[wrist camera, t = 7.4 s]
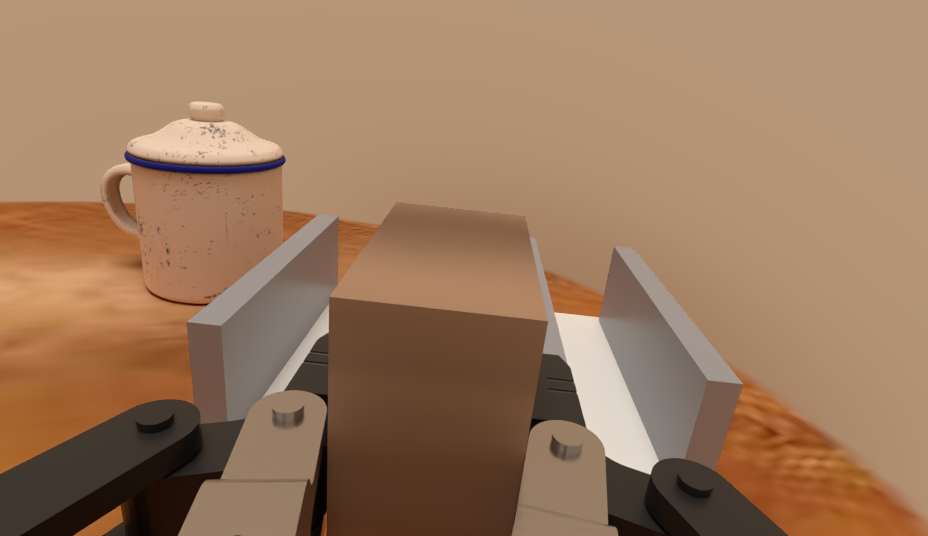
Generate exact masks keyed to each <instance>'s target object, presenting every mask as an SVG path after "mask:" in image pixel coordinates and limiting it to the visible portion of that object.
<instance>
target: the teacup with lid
mask: <svg viewBox="0 0 928 536" xmlns="http://www.w3.org/2000/svg"><path fill="white" fill-rule="evenodd" d="M188 112H189V116H190V117H191V118H190V119H181V120H177V121H174V122H172V123H170V124H168V125H167V126H165V127H164V128H162V129H161V130H159V131H157V132H155V133H152V134H149V135H145V136H141V137H137V138H135V139H133V140H131V141H130V142H129V144H128V145H127V148H126V149H127V151H126V153H125V159H126V160H127V161H128V162H130V163H127V164H120V165H117V166H114V167H112V168H111V169H109V170H108V171H107V172H106V173H105V174H104V176H103V178H102V180H101V186H100V188H101V189H100V190H101V197H102V201H103V204H104V206H105V209H106V211H107V213H108V214H109V216H110V217H111V219H112V220H113V222H114V223H115V224H116V225H117V226H118V227H119V228H120V229H121V230H123V231H124V232H125V233H127V234H129V235H131V236H133V237H136V238H139V241H140V250H141V259H142V267H143V276H144V282H145V285H146V286H147V288H148V289H149V290H150V291H151V292H152V293H154V294H156V295H158V296H160V297H162V298H165V299H168V300H172V301H177V302H184V303H195V304H209V303H211V302H212V301H213V300H214V299H216V298H217V297H218V296H219V295H221V294H222V293H223V292H224V291H225V290H227V289H228V288H229V287H230V286H232V285H233V284H234V283H235V282H236V281H238V280H239V279H240V278H241V277H243V276H244V275H245V274H246V273H248V272H249V271H250V270H251V269H252V268H254V267H255V266H256V265H257V264H259V263H260V262H261V261H262V260H263V259H265V258H266V257H267V256H268V255H270V254H271V253H272V252H273V251H275V250H276V249H277V248H278V247H279V246H281V245H282V244H283V210H282V165H283V164H284V163H285V157H284V156H283V151H282V149H281V148H280V147H279V146H278V145H277V144H275V143H273V142H270V141H267V140H264V139H261V138H259V137H257V136H255V135H254V134H252V133H251V132H249V131H248V130H247V129H245V128H244V127H242V126H240V125H239V124H236V123H234V122H229V121H225V120H223V118H224V108H223V107H222V106H221V105H220V104H218V103H211V102H192V103H190V104H189V106H188ZM125 175H131V176H132V182H133V190H134V199H135V207H136V216H137V221H136V220H135V219H134V218H133V217H132V216H131V215H130V214H129V212H128V211H127V209H126V208H125V206H124V204H123V202H122V199H121V196H120V190H119V185H120V181H121V179H122V178H123V177H124V176H125Z"/></svg>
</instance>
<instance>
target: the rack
mask: <svg viewBox="0 0 928 536" xmlns="http://www.w3.org/2000/svg"><path fill="white" fill-rule="evenodd" d="M338 225H339V216H331V215H322V214H319V215H318V216H316V217H315V218H314V219H313V220H311V221H310V222H309V223H308V224H306V225H305V226H304V227H303V228H302V229H300V230H299V231H298V232H297V233H295V234H294V235H293V236H292V237H290V238H289V239H288V240H287V241H286V242H284V243H283V244H282V245H281V246H279V247H278V248H277V249H276V250H275V251H273V252H272V253H271V254H270V255H268V256H267V257H266V258H265V259H263V260H262V261H261V262H260V263H259V264H257V265H256V266H255V267H254V268H252V269H251V270H250V271H249V272H248V273H246V274H245V275H244V276H243V277H241V278H240V279H239V280H238V281H236V282H235V283H234V284H233V285H232V286H230V287H229V288H228V289H227V290H225V291H224V292H223V293H222V294H221V295H219V296H218V297H217V298H216V299H214V300H213V301H212V302H211V303H209V304H208V305H207V306H206V307H205V308H203V309H202V310H201V311H200V312H198V313H197V314H196V315H195V316H194V317H192V318H191V319H190V320H189V321H187V329H188V340H189V351H190V362H191V373H192V384H193V395H194V405H195V406H196V407H197V408H198V409H199V411H200V417H201V424H205V423H215V422H226V421H235V420H241V419H245V418H246V417H247V415H248V412H249V410H250V408H251V407H252V406H253V405H254V404H255V403H256V402H257V401H258V400H260V399H262V398H263V397H265V396H268V395H270V394H273V393H276V392H281V391H284V390H285V388H286V387H287V385H288V384H289V382H290V381H291V379H292V378H293V376H294V375H295V373H296V372H297V370H298V368H299V367H300V365H301V364H302V363H304V359H305V358H306V356H307V355H308V353H310V350H311V349H312V347H313V346H314V344H315V343H316V341H317V339H319V338H320V337H322V336H323V335H325V334H327V333H328V332H329V296H330V295H331V293H332V292H333V291H334V289H335V288H336V286H337V283H338ZM530 241H531V246H532V250H533V255H534V259H535V264H536V268H537V273H538V277H539V282H540V286H541V291H542V295H543V300H544V304H545V309H546V313H547V318H548V326H547V331H546V337H545V343H544V349H543V353H544V354H553V355H559V356H560V357H561V358H562V359H563V360H564V361H565V362H566V363H567V364H568V365H569V366H570V368H571V371H572V375H573V379H574V383H575V386H576V390H577V394H578V398H579V401H580V405H581V409H582V413H583V416H584V420H585V424H586V428H587V429H588V430H590V431H591V432H593V433H594V434H595V435H596V436H597V437H598V438H599V439H600V440H601V442H602V443H603V446H604V449H605V456H607V457H608V458H610V459H611V460H613V461H615V462H617V463H619V464H622V465H624V466H627V467H630V468H632V469H635V470H638V471H641V472H644V473H647V474H650V475H651V471H652V468H653V466H654V465H655V464H656V463H657V462H659V461H661V460H664V459H668V458H681V459H687V460H691V461H694V462H697V463H700V464H702V465H704V466H706V467H708V468H710V469H712V470H713V471H715V469H716V466H717V463H718V460H719V457H720V454H721V451H722V448H723V445H724V442H725V439H726V436H727V433H728V430H729V426H730V423H731V420H732V417H733V414H734V411H735V408H736V405H737V402H738V399H739V396H740V393H741V390H742V387H743V383H742V382H741V381H740V380H739V378H738V377H737V376H736V375H735V373H734V372H733V371H732V370H731V368H730V367H729V366H728V365H727V364H726V362H725V361H724V360H723V359H722V357H721V356H720V355H719V354H718V352H717V351H716V350H715V349H714V347H713V346H712V345H711V344H710V343H709V341H708V340H707V339H706V338H705V336H704V335H703V334H702V332H701V331H700V330H699V329H698V328H697V326H696V325H695V324H694V323H693V321H692V320H691V319H690V318H689V316H688V315H687V314H686V313H685V311H684V310H683V309H682V308H681V306H679V304H678V303H677V301H676V300H675V299H674V298H673V297H672V295H671V294H670V293H669V292H668V290H667V289H666V288H665V287H664V286H663V284H662V283H661V282H660V280H659V279H658V278H657V277H656V276H655V274H654V273H653V272H652V270H651V269H650V268H649V267H648V266H647V264H646V263H645V262H644V260H643V259H642V258H641V257H640V256H639V254H638V253H637V252H636V251H635V249H634V248H625V247H616V246H614V250H613V254H612V259H611V264H610V268H609V273H608V278H607V283H606V288H605V293H604V297H603V302H602V307H601V312H600V317H590V316H581V315H572V314H563V313H554V309H553V306H552V302H551V298H550V294H549V290H548V286H547V282H546V278H545V275H544V271H543V267H542V263H541V259H540V255H539V251H538V248H537V244H536V240H535V238H532V237H530Z"/></svg>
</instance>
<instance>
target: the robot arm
mask: <svg viewBox="0 0 928 536" xmlns="http://www.w3.org/2000/svg"><path fill="white" fill-rule="evenodd" d="M328 351H329V332H328V333H327V334H325V335H323V336H322V337H320V338H319V339H317V341H316V343H315V344H314V346H313V347H312V349H311V350H310V353H308V355H307V356H306V358H305V359H304V363H302V364H301V365H300V367H299V368H298V370H297V372H296V373H295V375H294V376H293V378H292V379H291V381H290V382H289V384H288V385H287V387H286V388H285V390H284V391H281V392H276V393H273V394H270V395H268V396H265V397H263V398H262V399H260V400H258V401H257V402H256V403H255V404H254V405H253V406H252V407H251V408H250V410H249V412H248V415H247V417H246V418H245V419H241V420H235V421H226V422H215V423H205V424H201V417H200V411H199V409H198V408H197V407H196V406H195V405H193V404H191V403H189V402H186V401H182V400H158V401H152V402H148V403H144V404H141V405H138V406H136V407H134V408H131V409H129V410H127V411H125V412H123V413H121V414H119V415H117V416H115V417H113V418H111V419H109V420H107V421H105V422H103V423H101V424H99V425H97V426H95V427H93V428H91V429H89V430H87V431H85V432H83V433H81V434H79V435H77V436H75V437H73V438H71V439H69V440H67V441H65V442H63V443H61V444H59V445H57V446H55V447H53V448H51V449H49V450H47V451H45V452H43V453H41V454H39V455H37V456H35V457H34V458H32V459H30V460H28V461H26V462H24V463H22V464H20V465H18V466H16V467H14V468H12V469H10V470H8V471H6V472H4V473H2V474H0V536H73V535H75V534H76V533H78V532H79V531H81V530H82V529H84V528H85V527H87V526H88V525H90V524H92V523H93V522H95V521H96V520H98V519H99V518H101V517H102V516H104V515H105V514H107V513H109V512H110V511H112V510H113V509H115V508H116V507H118V506H119V505H121V510H122V516H123V522H122V523H121V524H119V525H118V526H116V527H115V528H113V529H112V530H110V531H109V532H107V533H106V534H104V535H103V536H324V532H325V524H326V511H327V442H328ZM512 536H788V535H787V534H786V533H785V532H784V531H782V530H781V529H780V528H779V527H778V526H777V525H776V524H775V523H774V522H772V521H771V520H770V519H769V518H768V517H767V516H766V515H765V514H763V513H762V512H761V511H760V510H759V509H758V508H757V507H756V506H754V505H753V504H752V503H751V502H750V501H749V500H748V499H747V498H746V497H744V496H743V495H742V494H741V493H740V492H739V491H738V490H737V489H735V488H734V487H733V486H732V485H731V484H730V483H729V482H728V481H726V480H725V479H724V478H723V477H722V476H721V475H719V474H718V473H716V472H715V471H713V470H712V469H710V468H708V467H706V466H704V465H702V464H700V463H697V462H694V461H691V460H687V459H681V458H668V459H664V460H661V461H659V462H657V463H656V464H655V465H654V466H653V468H652V471H651V475H650V474H647V473H644V472H641V471H638V470H635V469H632V468H630V467H627V466H624V465H622V464H619V463H617V462H615V461H613V460H611V459H610V458H608V457H607V456H605V449H604V446H603V443H602V442H601V440H600V439H599V438H598V437H597V436H596V435H595V434H594V433H593V432H591V431H590V430H588V429H587V428H586V424H585V420H584V416H583V413H582V409H581V405H580V401H579V398H578V394H577V390H576V386H575V383H574V379H573V375H572V371H571V368H570V366H569V365H568V364H567V363H566V362H565V361H564V360H563V359H562V358H561V357H560V356H559V355H553V354H544V353H543V355H542V360H541V366H540V372H539V378H538V384H537V389H536V395H535V401H534V407H533V413H532V418H531V424H530V430H529V436H528V442H527V447H526V453H525V459H524V465H523V471H522V476H521V482H520V488H519V494H518V500H517V505H516V511H515V517H514V523H513V533H512Z"/></svg>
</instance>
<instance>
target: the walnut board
mask: <svg viewBox="0 0 928 536" xmlns="http://www.w3.org/2000/svg"><path fill="white" fill-rule="evenodd" d="M547 326H548V318H547V313H546V309H545V304H544V300H543V295H542V291H541V286H540V282H539V277H538V273H537V268H536V264H535V259H534V255H533V250H532V246H531V241H530V237H529V233H528V228H527V223H526V219H525V216H516V215H507V214H498V213H488V212H480V211H470V210H462V209H453V208H443V207H434V206H425V205H416V204H407V203H398V202H397V203H396V204H395V205H394V207H393V208H392V210H391V211H390V213H389V214H388V215H387V217H386V218H385V220H384V221H383V222H382V224H381V225H380V226H379V228H378V229H377V231H376V232H375V233H374V235H373V236H372V238H371V239H370V240H369V242H368V243H367V245H366V246H365V247H364V249H363V250H362V252H361V253H360V254H359V256H358V257H357V258H356V260H355V261H354V263H353V264H352V265H351V267H350V268H349V270H348V271H347V272H346V274H345V275H344V277H343V278H342V279H341V281H340V282H339V284H338V285H337V286H336V288H335V289H334V291H333V292H332V293H331V295H330V296H329V351H328V442H327V534H326V536H511V534H512V529H513V523H514V517H515V511H516V505H517V500H518V494H519V488H520V482H521V476H522V471H523V465H524V459H525V453H526V447H527V442H528V436H529V430H530V424H531V418H532V413H533V407H534V401H535V395H536V389H537V384H538V378H539V372H540V366H541V360H542V355H543V349H544V343H545V337H546V331H547Z"/></svg>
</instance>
